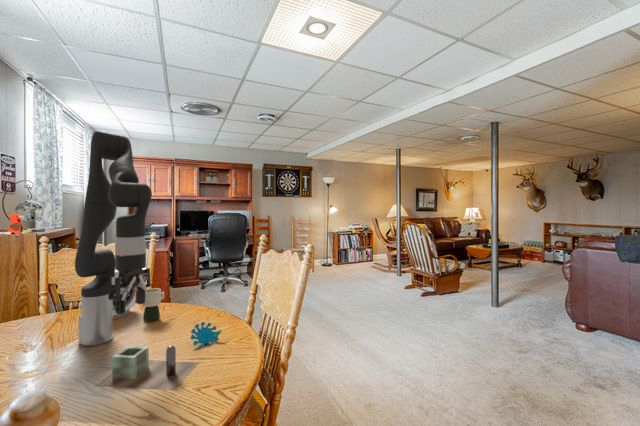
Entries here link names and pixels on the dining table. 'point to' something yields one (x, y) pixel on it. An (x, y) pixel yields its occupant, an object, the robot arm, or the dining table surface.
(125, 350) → the pale green open box
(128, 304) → the alarm clock
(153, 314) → the character mug
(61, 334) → the dining table surface
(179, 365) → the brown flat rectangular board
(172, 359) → the metal post
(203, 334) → the gear
